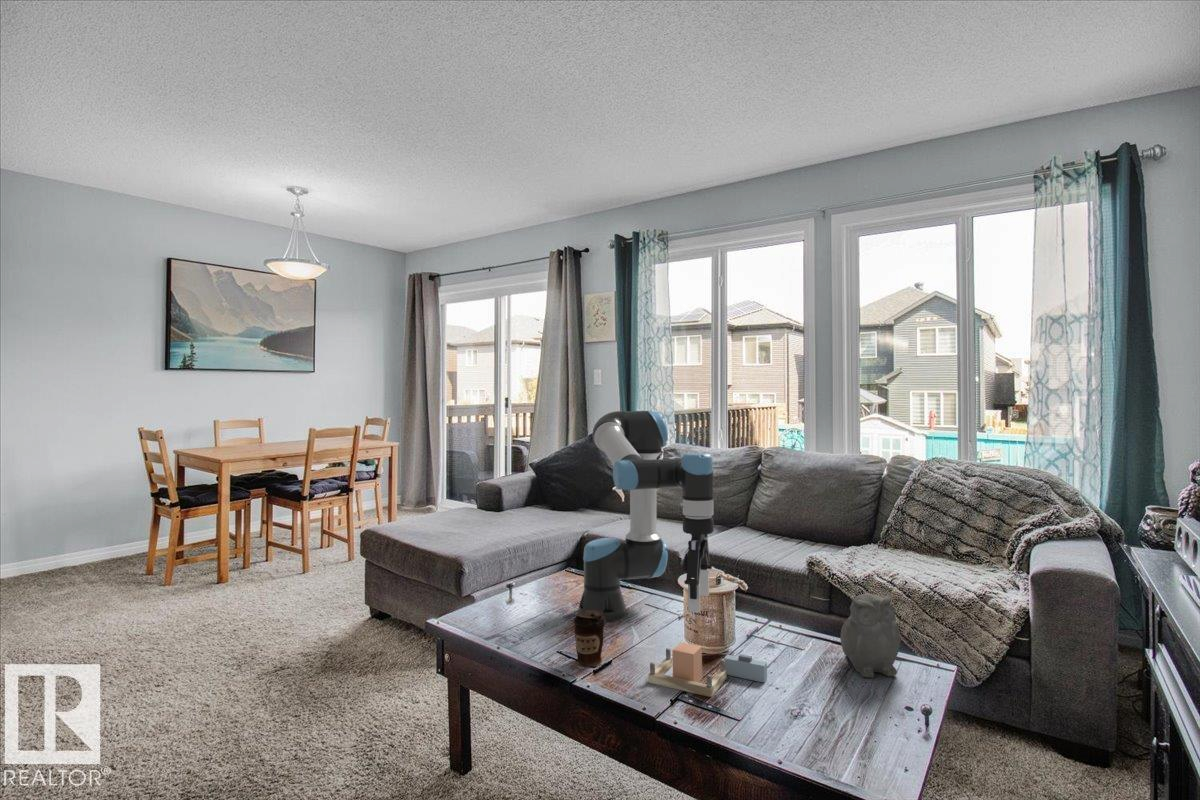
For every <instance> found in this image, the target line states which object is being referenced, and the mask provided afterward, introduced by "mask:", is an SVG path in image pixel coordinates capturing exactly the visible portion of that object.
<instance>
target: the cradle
mask: <svg viewBox="0 0 1200 800" xmlns="http://www.w3.org/2000/svg"><path fill="white" fill-rule="evenodd" d="M671 656H672V655H671V648H666V649H665V658H664V659H663V661H661V662H659V664H658V665H657V666H656V663H655V662H649V673H648V678H647V679H648V683H649V684H653V685H657V686H662V687H666V688H671V689H675V690H679V691H683V692H686V693H687V692H688V693H692V694H697V695H700V696H705V697H709V698H712V697H713V696H714V695H715V694H716V692H717V691H718V690H719V688H720V687H721V686H722V685H723V683H724V682H725V681H726V680H727V676H728V675H727V670H725V660H724V658H721V659H719V670H718V671H717V672H716V674H715V675H714V676H713V675H712V674H706V683H702V682H699V683H698V682H694V681H689V680H685V679H680V678H676V677H673V676H671V675H666V673H667V672H668V671H669V670H671V668H673V657H671Z"/></svg>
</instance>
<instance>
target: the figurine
mask: <svg viewBox="0 0 1200 800" xmlns="http://www.w3.org/2000/svg"><path fill="white" fill-rule="evenodd" d="M850 600H851V604H850V606H849V611H850V614H849V616H848V617H847V619H846V620H845V621H844V622H843V625H842V626H841V629H840V635H839V636H840V645H841V648H842V651H843V653H844V655H845V656H846V657H847V658H849V660H850V663H851V664H852V666H853V668H854V670H855V671H856V672H858V673H859V674H860V675H861V677H864V678H874V676H875V673H880V674H883V675H884V676H887V677H895V676H896V675H897V673H898V670H897V668H896V667H894V665H893V664H894V663H895V662H896V660H897V657H898V654H899V648H900V646H901V642H902V641H901V635H900V634H901V633H900V628H899V626H898V623H897V622H896V621H895V618H896V610H895V608H894V606H893V605H891V601H892V600H893V595H892V593H891V592H888V593H886V595H885V596H884V597H882V596H880V595H878V594H877V595H876V594H872V593H861V594H859V595H857V596H855V597H852V596H850Z"/></svg>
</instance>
